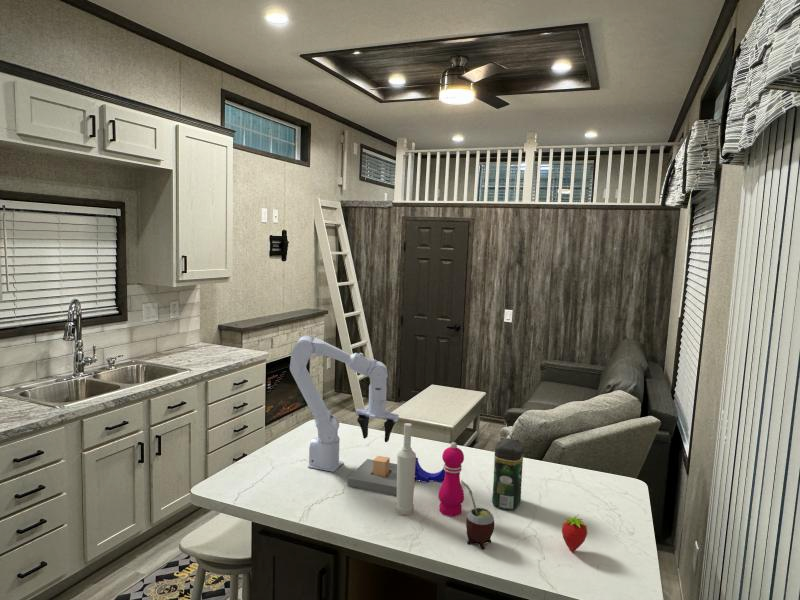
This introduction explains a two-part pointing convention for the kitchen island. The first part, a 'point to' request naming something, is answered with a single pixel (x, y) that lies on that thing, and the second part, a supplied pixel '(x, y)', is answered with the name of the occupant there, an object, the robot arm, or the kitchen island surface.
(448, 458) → the pepper mill
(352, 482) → the socket plate
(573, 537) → the strawberry
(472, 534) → the mate gourd
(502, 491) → the coffee jar
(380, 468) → the plug
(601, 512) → the kitchen island surface
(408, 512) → the bottle
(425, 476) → the cable clip
